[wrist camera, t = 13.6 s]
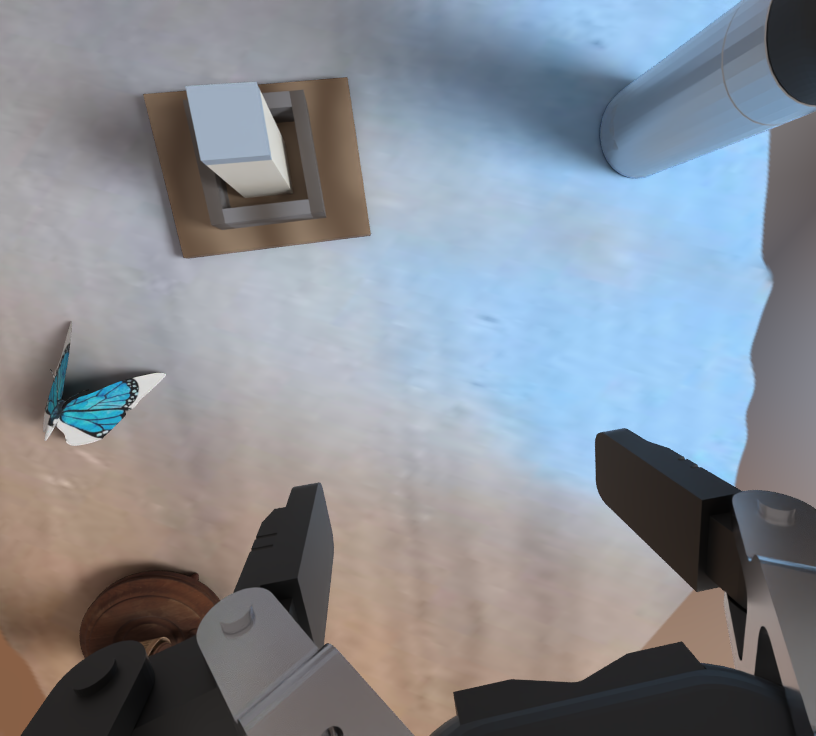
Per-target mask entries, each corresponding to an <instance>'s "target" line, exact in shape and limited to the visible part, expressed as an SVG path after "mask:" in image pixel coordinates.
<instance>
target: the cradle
mask: <svg viewBox="0 0 816 736" xmlns="http://www.w3.org/2000/svg"><path fill="white" fill-rule="evenodd" d="M258 87H259V89H260V91H261V93H262V95H263V97H264V99H265V102H266V104H267V106H268V108H269V110H270V112H271V114H272V116H273V119H274V121H275V123H276V125H277V127H278V129H279V131H280V134H281V136H282V138H283V140H284V142H285V147H286V153H287V159H288V165H289V171H290V177H291V183H292V189H293V194H282V195H272V196H261V197H250V198H244V197H243V196H242V195H241V194H240V193H238V192H237V191H236V190H235V189H234V188H233V187H231V186H230V185H229V184H228V183H227V182H226V181H224V180H223V179H222V178H221V177H220V176H218V175H217V174H216V173H215V172H214V171H213V170H211V169H210V168H209V167H208V166H207V165H205V164H204V163H203V162H202V161H201V159H200V154H199V149H198V144H197V140H196V135H195V130H194V125H193V120H192V116H191V111H190V106H189V101H188V97H187V92H186V91H177V92H165V93H153V94H143V95H144V99H145V103H146V107H147V111H148V115H149V120H150V124H151V128H152V132H153V136H154V140H155V144H156V148H157V152H158V156H159V160H160V164H161V168H162V172H163V176H164V180H165V184H166V188H167V192H168V196H169V200H170V204H171V209H172V213H173V217H174V221H175V225H176V229H177V233H178V237H179V241H180V245H181V249H182V253H183V257H184V258H196V257H204V256H212V255H220V254H228V253H236V252H244V251H252V250H260V249H268V248H276V247H284V246H292V245H300V244H308V243H316V242H324V241H332V240H340V239H348V238H356V237H364V236H370V235H371V233H370V226H369V219H368V213H367V206H366V199H365V193H364V186H363V179H362V172H361V166H360V159H359V152H358V145H357V139H356V132H355V125H354V119H353V112H352V105H351V98H350V92H349V85H348V78H347V77H345V78H333V79H321V80H309V81H297V82H285V83H273V84H261V85H258Z"/></svg>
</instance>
